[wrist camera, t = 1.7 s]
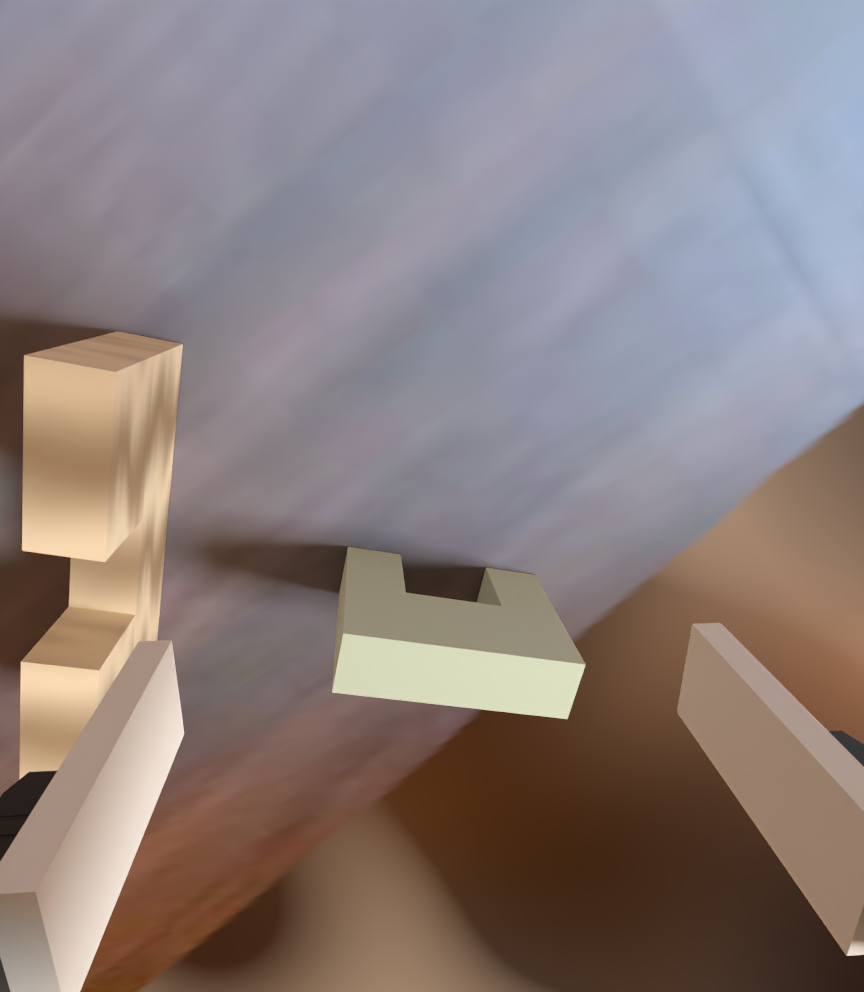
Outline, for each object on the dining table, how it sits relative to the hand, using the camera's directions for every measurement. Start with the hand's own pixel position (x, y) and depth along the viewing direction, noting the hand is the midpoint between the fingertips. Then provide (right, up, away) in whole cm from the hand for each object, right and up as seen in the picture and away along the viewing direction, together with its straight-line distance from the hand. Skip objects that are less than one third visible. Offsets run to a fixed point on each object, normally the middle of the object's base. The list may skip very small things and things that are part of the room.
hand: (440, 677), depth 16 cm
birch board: (-16, +3, +18) cm, 24 cm away
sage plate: (0, 0, +21) cm, 21 cm away
